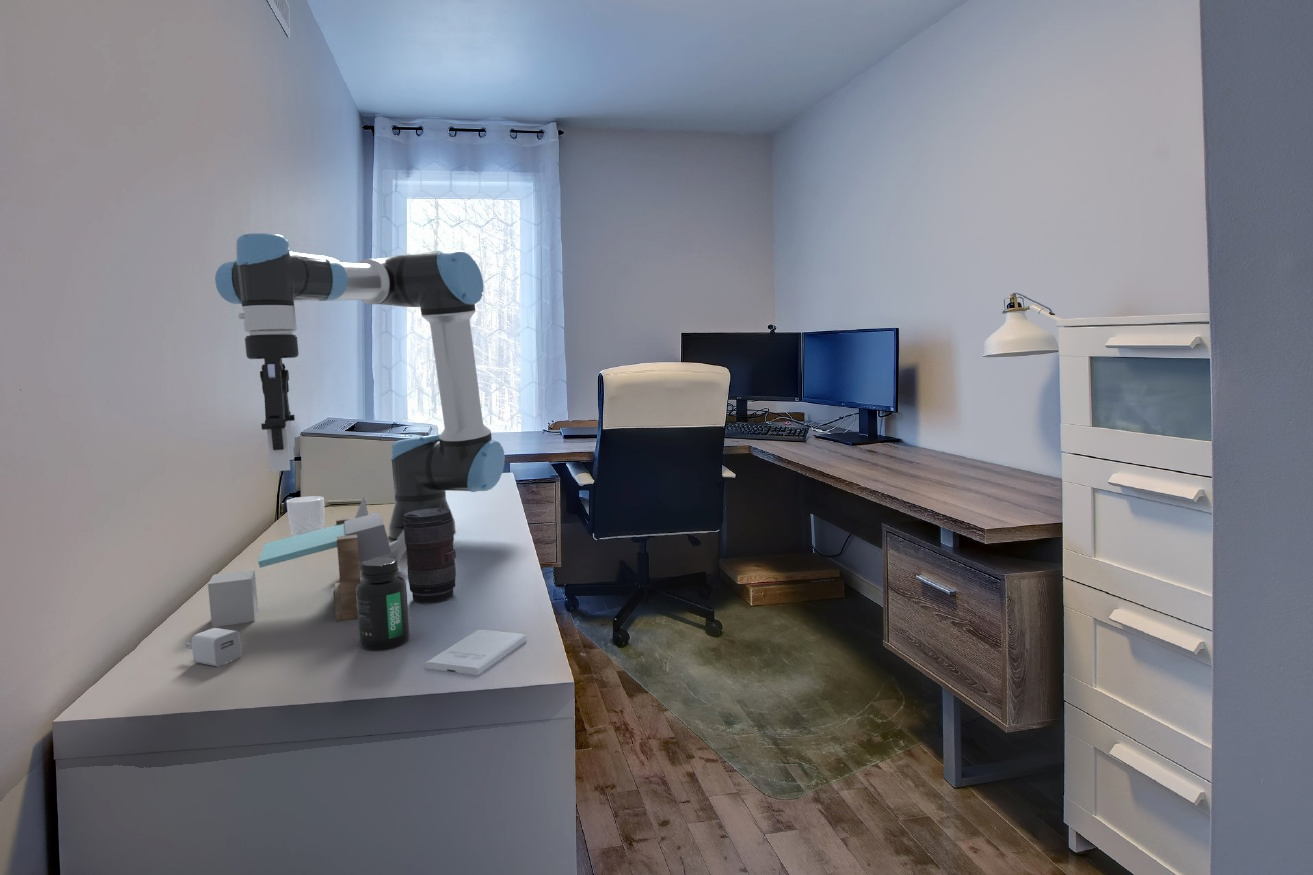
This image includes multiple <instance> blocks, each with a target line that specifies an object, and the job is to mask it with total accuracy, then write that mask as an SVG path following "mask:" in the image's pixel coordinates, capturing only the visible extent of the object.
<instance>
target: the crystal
mask: <svg viewBox="0 0 1313 875" xmlns="http://www.w3.org/2000/svg"><path fill="white" fill-rule="evenodd" d="M366 515H369V512H368V508H367V502H366V498H365V496H363V497H362V500H361V502H360V504H359V507H358V509H357V511H356V514H355V516H354V518H358V517H362V516H366ZM390 541H391V540H389V539H388V542H389V546H390V550H391V553H390V554H387V555H383V556H379V557H376V558H395V559H396V560H397V564H398V572H399V570H400V569H401V568H400V566H399V562H400V561H401V559H402V558H403V556H404V555H405V553H406V552H407V549H406V545H405V537H404V530H403V531H402V533H401V534H400V535H399V536H398V538H397V539H396V540H394V541H391V542H390ZM372 559H375V558H372ZM369 560H371V559H369ZM365 561H367V560H365ZM365 561H361V562H359V568H360V578H364V577H362V563H363V562H365ZM400 571H401V570H400Z"/></svg>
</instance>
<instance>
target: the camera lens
mask: <svg viewBox="0 0 1313 875" xmlns="http://www.w3.org/2000/svg"><path fill="white" fill-rule="evenodd" d="M451 513H452V511H451V508H450V509H446V508H432V509H422V510H416V511H412V512H408V513H406V514H405V515H404V516H405V518H404V537H405V545H406V561H407V564H406V565H407V580H408V586H409V591H410V592H411V594H412V600H413V601H414V602H415V603H419V604H436V603H442V602H445V601H447V600H450V599H451V598H453V596H454V588H455V587H456V578H457V571H456V568H457V567H456V562H455V560H456V558H457V557H456V554H457V552H456V550H457V549H456V548H454V540H455V538H454V536H455V534H454V533H455V531H454V528H453V518H454V517H453V518H452V515H453V514H452V515H451Z"/></svg>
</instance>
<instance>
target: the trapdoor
mask: <svg viewBox="0 0 1313 875" xmlns="http://www.w3.org/2000/svg"><path fill="white" fill-rule="evenodd" d="M383 520H384V519H383V518H382V515H381V512H379V511H378V512H373V513H370V514H368V515H366V516H362V517H358V518H355V517H354V519H350V520H347V521H344V522H345V523H343V524H339V525H336V524H335V525H332V526H328V527H325V528H324V529H320V530H316V531H312V532H308V533H304V534H300V535H296V536H293V537H292V536H289V537H286V538H281V539H278V540H273V541H269V542H267V543H264V545H263V548H262V551H261V553H260V555H259V558H258V566H259V568H264V567H267V566H271V565H275V564H280V563H282V562H286V561H290V560H294V559H297V558H302V557H305V556H310V555H312V554H316V553H321V552H325V551H327V550H331V549H335V548H337V537H338V536H347V535H357V540H358V554H359V562H361V561H365V560H369V559H372V558H376V557H379V556H383V555H387V554H390V553H391V550H390V546H389V542H388V541H389V539H388V536H387V535H388V534H387V531H386V527H385V523H384V521H383Z"/></svg>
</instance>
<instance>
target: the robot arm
mask: <svg viewBox="0 0 1313 875" xmlns="http://www.w3.org/2000/svg"><path fill="white" fill-rule="evenodd" d="M289 245H290V244H289V240H288V239H287V237H285V236H283V235H281V234H276V233H264V232H263V233H261V232H260V233H258V232H257V233H254V232H252V233H244V234H242V235H240V236H238V238H237V239H236V259H235V260H233V261H226V262H223V263H222V264H220V266H219V267H218V268H217V270H216V272H215V277H214V280H215V285H216V286H215V288H216V290H217V292H218V294H219V296H220V297H221V298H222V299H224V300H225V301H226V302H227V303H230V304H234V305H241V307H242V309H241V310H242V311H243V312H240V313H238V316H237V317H238V319H239V320H243V329H244V330H243V331H244V332H246V333H248V334H249V335H246V336H245V337H244V342H245V353H246V357H247V359H249V360H264V364H262V365H261V370H260V371H259V377H260V381H261V382H260V383H261V388H262V394H263V395H264V396H263V397H264V399H263V400H264V413H265V420H264V423H260V424H261V425H260V426H261V430H262V431H264V430H266V435H267V436H266V437H267V445H268V455H269V456H268V457H269V466H270V468H269V469H270V472H282V471H283V472H284V471H285V472H286V471H291V461H293V460H295V456H294V455H295V453H294V452H295V451H294V443H293V434H292V432H293V431H292V424H291V423H292V422H295V420H296V419H295V418H296V416H295V414H292V413H291V411H290V404H289V395H288V393H289V391H290V387H289V380H290V374H289V372H290V371H289V369H286V365H285V363H283V359H293V358H295V359H296V358H297V357H299V344H298V337H297V336H296V334H294V332H296V331H297V318H296V306H295V302H299V303H300V302H303V303H304V302H330V301H331V302H332V301H333V302H334V301H337V302H338V301H361V302H362V303H365V305H366V304H368V305H383V306H384V305H385V306H395V307H401V308H402V307H403V308H404V307H405V308H420V314H421V317H422V318H423V319H424V320H425V321H427V322H428V323H429V326H430V332H431V340H432V347H433V355H434V359H435V360H434V363H435V369H436V370H435V371H436V375H437V376H436V377H437V382H438V390H439V396H440V403H441V410H442V412H441V413H442V418H443V424H444V425H443V426H444V427H443V428H444V430H443V431H442V432H441V433H439V434H430V435H426V436H425V435H424V436H418V437H413V438H405V439H400V440H397V441H394V442H393V444H392V446H391V458H390V459H391V460H390V461H391V465H392V466H391V467H392V468H391V469H392V476H393V477H392V479H393V480H392V481H393V491H394V506H393V509H392V514H391V518H390V521H389V525H388V534H389V535H388V536H389V538H390V539H394V540H397V538H398V536H399V535H400V534H401V533H402V531H403V530H404V518H405V516H404V515H405V514H406V513H408V512H412V511H416V510H422V509H432V508H446V509H450V510H451V508H450V506H449V504H448V501H447V497H446V496H447V493H446V491H447V492H449V491H450V492H451V491H454V492H459V491H460V492H471V493H477V492H487V491H490V490H492V489H493V488H495V486H496V485H497V484H498V483H499V481H500V480H501V477H502V475H503V473H504V472H503V471H504V468H505V461H506V460H505V451H504V447H503V445H502V444H501V442H499V441H497V440H495V439H493V436H492V430H491V429H490V428H489V427H487V425H485V424H484V423H483V422H484V420H483V412H482V406H481V396H480V390H479V389H480V388H479V383H478V382H479V381H478V373H477V366H476V358H475V350H474V342H473V335H472V334H473V333H472V328H471V318H472V317H473V315H474V314H475V313H476V304H478V303H479V302H480V301H481V299H482V297H483V292H484V279H483V276H482V273H481V270H480V267H479V266H478V264H477V262H476V261H475V260H474V258H473V257H472V256H471V255H470V254H469V253H467V252H465V251H463V250H458V249H457V250H456V249H455V250H454V249H452V250H451V249H448V250H447V249H441V250H435V251H426V252H423V251H422V252H414V253H413V252H412V253H403V254H398V255H392V256H388V257H387V256H386V257H380V258H365V259H361V260H360V261H358V262H356V263H354V262H353V263H352V262H340V260H338V259H336V258H333V257H331V256H330V257H329V256H326V255H324V254H320V255H319V254H311V253H301V252H294V251H291V248H290V246H289ZM451 515H452V518H453V528H454V532H455V531H456V521H455V518H454V515H453V513H452V512H451Z"/></svg>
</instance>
